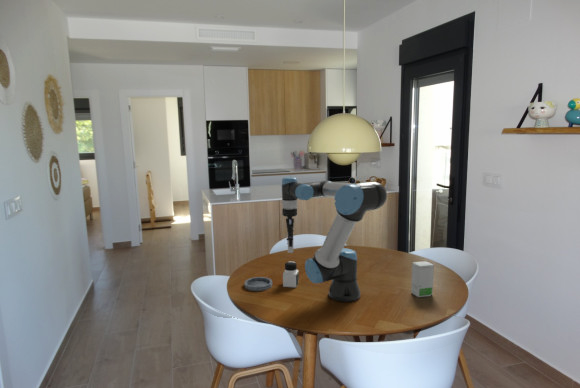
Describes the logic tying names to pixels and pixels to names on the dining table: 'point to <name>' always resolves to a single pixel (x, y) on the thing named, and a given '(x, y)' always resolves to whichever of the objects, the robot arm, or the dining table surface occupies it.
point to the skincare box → (422, 279)
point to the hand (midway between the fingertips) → (290, 248)
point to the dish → (258, 283)
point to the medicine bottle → (290, 275)
